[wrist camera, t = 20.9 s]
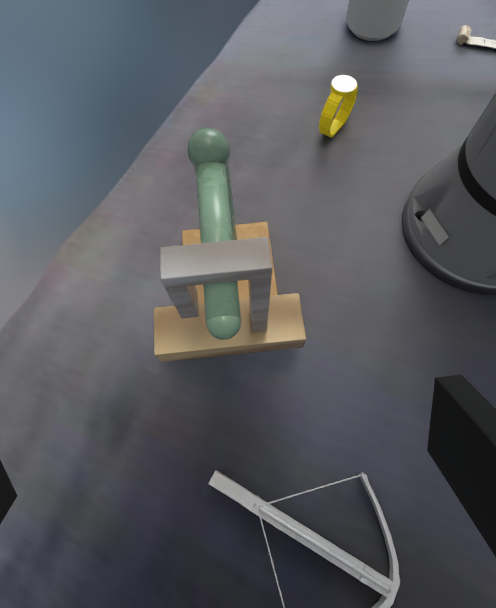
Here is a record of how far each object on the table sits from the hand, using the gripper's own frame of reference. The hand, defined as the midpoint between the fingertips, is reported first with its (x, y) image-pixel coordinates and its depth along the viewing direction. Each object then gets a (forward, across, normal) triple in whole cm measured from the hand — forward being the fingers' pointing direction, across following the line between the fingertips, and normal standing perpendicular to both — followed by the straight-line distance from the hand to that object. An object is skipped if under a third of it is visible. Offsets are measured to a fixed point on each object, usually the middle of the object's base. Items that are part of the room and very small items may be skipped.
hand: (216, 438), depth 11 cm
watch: (+42, +14, +8) cm, 45 cm away
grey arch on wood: (+20, 0, -7) cm, 21 cm away
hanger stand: (+26, 0, -7) cm, 27 cm away
